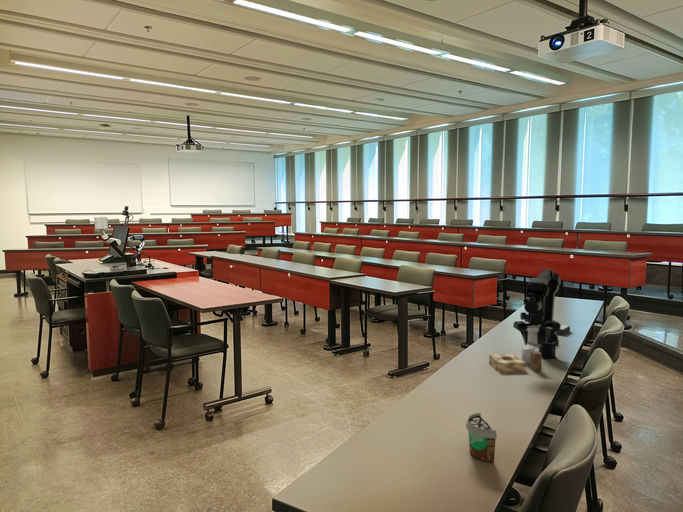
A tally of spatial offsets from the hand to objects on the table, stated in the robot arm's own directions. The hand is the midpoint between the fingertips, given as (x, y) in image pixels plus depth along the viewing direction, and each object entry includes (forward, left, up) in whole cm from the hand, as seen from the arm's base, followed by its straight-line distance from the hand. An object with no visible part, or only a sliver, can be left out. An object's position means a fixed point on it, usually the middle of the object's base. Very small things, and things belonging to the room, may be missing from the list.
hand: (536, 344), depth 203 cm
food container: (+49, +69, -12) cm, 85 cm away
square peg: (0, 0, -12) cm, 12 cm away
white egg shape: (-1, -10, -12) cm, 15 cm away
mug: (-21, -43, -12) cm, 49 cm away
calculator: (-40, -63, -12) cm, 75 cm away
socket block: (+11, -5, -12) cm, 17 cm away
